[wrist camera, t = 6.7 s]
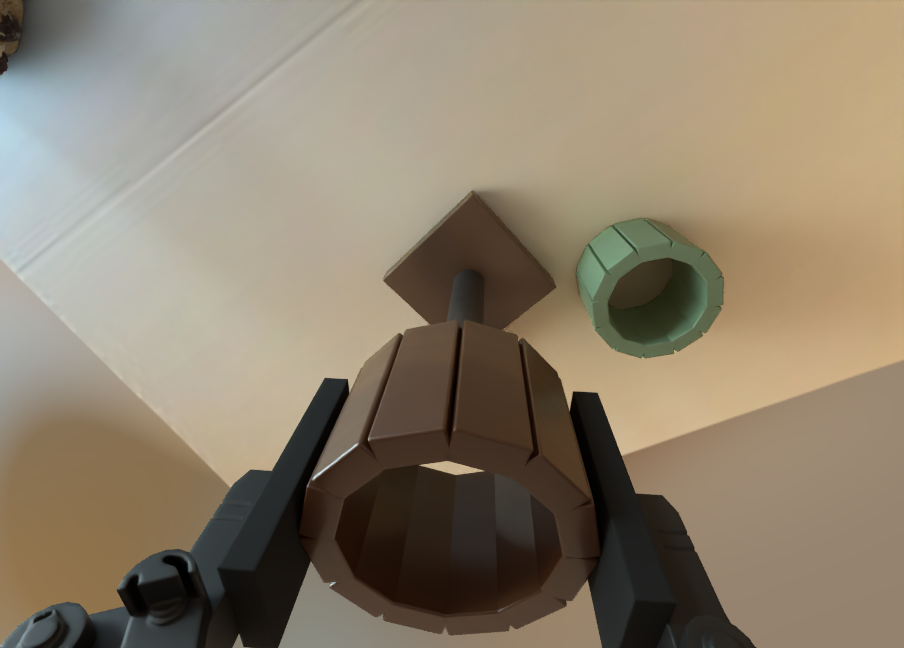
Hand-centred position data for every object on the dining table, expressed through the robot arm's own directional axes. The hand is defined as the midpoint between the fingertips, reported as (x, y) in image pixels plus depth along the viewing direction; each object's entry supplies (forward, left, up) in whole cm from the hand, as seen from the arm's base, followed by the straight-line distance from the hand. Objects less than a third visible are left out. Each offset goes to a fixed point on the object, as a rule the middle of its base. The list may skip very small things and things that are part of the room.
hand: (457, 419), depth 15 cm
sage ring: (-7, +8, -17) cm, 20 cm away
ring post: (+1, +1, -17) cm, 17 cm away
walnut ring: (0, 0, 0) cm, 0 cm away
